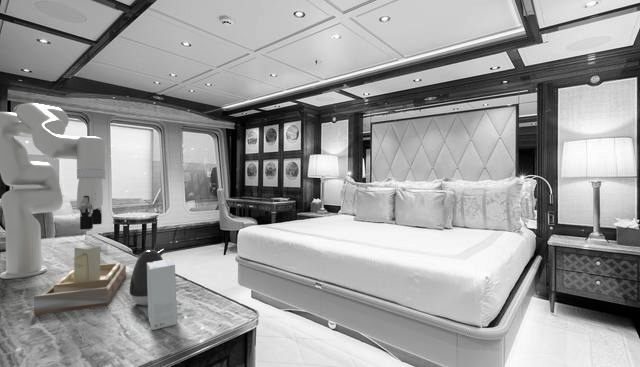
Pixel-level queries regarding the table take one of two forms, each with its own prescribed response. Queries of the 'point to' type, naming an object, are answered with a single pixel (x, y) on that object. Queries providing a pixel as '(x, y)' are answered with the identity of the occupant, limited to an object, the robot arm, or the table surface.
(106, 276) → the birch crate
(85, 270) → the skincare box
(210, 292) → the table surface
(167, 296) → the skincare box
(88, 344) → the table surface
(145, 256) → the black penguin figurine
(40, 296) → the wooden serving tray
